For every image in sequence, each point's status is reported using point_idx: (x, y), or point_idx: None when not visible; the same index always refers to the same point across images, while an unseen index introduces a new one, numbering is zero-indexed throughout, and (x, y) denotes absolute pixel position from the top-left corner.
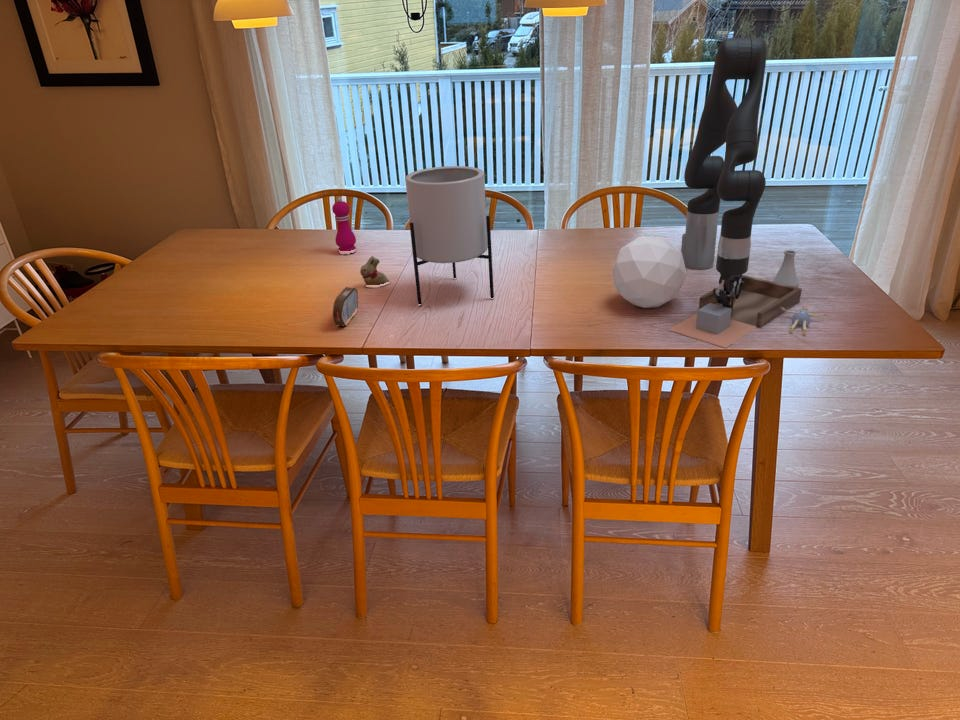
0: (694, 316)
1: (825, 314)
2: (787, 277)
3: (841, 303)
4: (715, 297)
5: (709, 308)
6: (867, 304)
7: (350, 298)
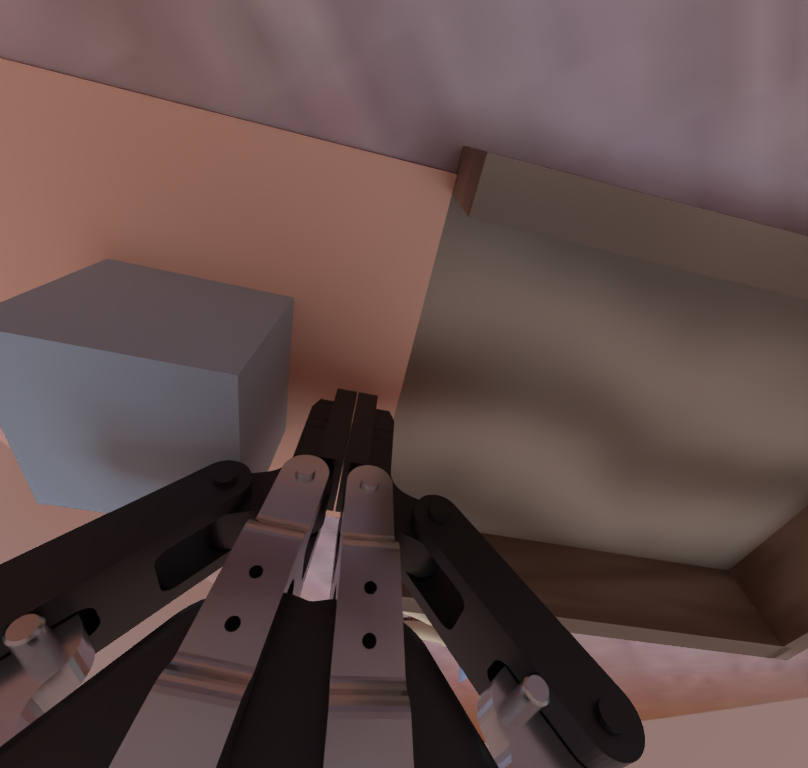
0: (305, 163)
1: None
2: None
3: (725, 654)
4: (83, 528)
5: (101, 409)
6: (719, 687)
7: None
